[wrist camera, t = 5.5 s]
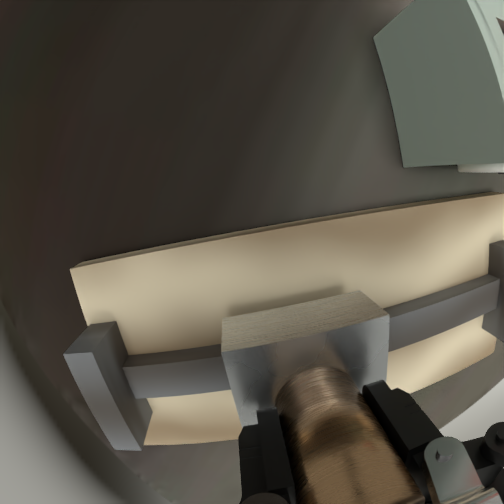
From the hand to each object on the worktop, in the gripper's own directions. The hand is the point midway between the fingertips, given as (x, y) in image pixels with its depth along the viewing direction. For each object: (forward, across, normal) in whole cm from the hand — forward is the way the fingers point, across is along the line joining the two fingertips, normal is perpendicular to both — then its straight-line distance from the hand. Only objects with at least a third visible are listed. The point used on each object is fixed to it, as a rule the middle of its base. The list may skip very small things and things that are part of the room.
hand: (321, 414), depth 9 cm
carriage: (+5, 0, 0) cm, 5 cm away
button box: (+7, -12, -12) cm, 18 cm away
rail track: (+7, -3, 0) cm, 7 cm away
